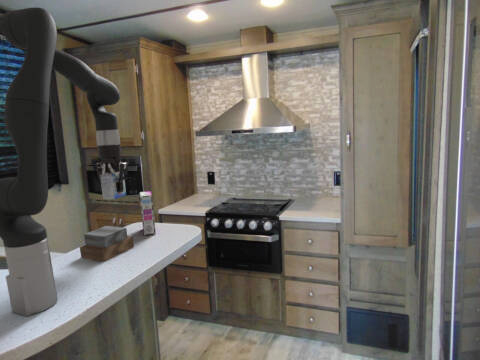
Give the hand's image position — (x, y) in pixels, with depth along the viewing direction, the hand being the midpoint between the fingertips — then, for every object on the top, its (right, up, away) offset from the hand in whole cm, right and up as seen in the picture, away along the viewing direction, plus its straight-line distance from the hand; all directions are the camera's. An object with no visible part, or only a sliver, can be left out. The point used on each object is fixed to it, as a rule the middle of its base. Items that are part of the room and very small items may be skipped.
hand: (114, 191), depth 120 cm
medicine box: (0, -2, 0) cm, 2 cm away
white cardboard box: (+6, -18, +25) cm, 31 cm away
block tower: (-3, -22, +3) cm, 22 cm away
